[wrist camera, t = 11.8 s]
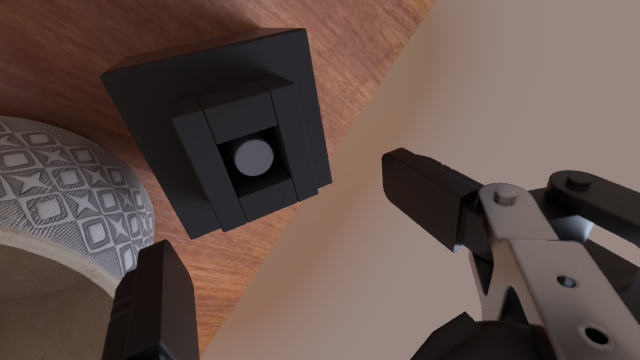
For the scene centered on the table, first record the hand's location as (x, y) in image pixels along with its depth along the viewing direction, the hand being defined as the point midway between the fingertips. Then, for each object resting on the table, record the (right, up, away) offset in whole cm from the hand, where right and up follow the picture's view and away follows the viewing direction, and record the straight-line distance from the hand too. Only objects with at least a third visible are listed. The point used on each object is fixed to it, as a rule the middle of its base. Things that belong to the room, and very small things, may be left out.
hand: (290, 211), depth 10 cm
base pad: (-4, +4, +7) cm, 9 cm away
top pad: (-3, +3, +6) cm, 8 cm away
